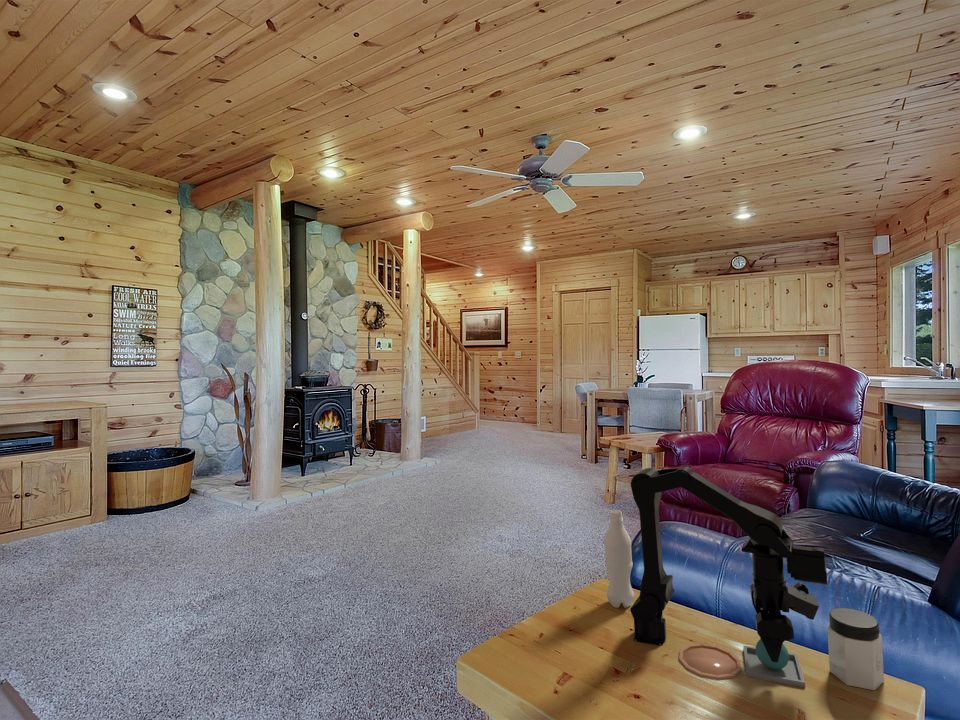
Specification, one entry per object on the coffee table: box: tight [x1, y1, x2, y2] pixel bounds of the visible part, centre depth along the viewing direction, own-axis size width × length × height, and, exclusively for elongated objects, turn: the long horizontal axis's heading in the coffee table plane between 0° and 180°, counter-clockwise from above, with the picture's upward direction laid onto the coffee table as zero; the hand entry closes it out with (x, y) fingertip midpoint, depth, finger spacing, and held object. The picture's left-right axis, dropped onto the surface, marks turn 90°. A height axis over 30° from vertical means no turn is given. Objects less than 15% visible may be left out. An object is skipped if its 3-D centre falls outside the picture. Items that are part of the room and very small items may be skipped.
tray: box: [743, 645, 806, 688], centre depth 106 cm, size 10×10×2 cm
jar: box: [827, 607, 885, 691], centre depth 103 cm, size 9×8×12 cm
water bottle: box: [603, 509, 635, 609], centre depth 138 cm, size 7×7×25 cm
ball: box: [755, 638, 789, 670], centre depth 106 cm, size 6×6×6 cm
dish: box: [678, 643, 742, 681], centre depth 110 cm, size 12×12×1 cm
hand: (772, 649), depth 106 cm, fingers open, 9 cm apart
